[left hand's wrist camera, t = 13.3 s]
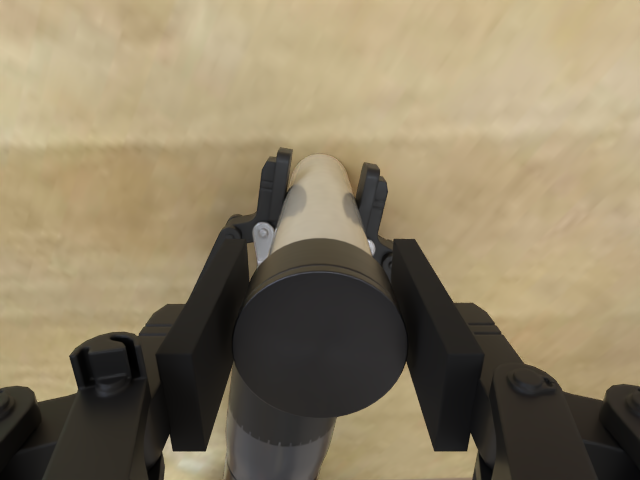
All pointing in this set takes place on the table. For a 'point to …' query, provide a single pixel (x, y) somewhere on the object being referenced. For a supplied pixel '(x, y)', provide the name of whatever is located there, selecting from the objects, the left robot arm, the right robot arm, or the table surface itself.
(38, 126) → the table surface
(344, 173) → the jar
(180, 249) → the table surface
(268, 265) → the lid
